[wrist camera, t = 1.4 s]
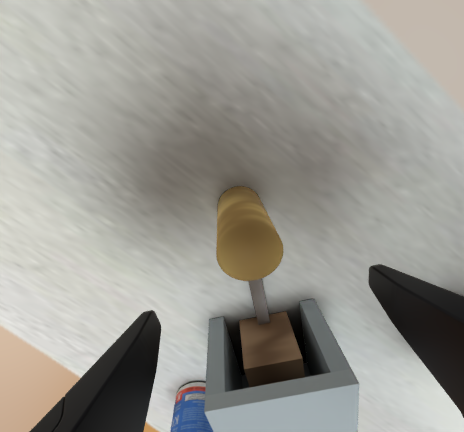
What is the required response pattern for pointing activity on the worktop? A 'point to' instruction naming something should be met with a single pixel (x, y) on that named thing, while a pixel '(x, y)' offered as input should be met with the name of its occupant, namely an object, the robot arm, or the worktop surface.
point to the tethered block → (256, 286)
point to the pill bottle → (190, 409)
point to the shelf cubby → (283, 386)
